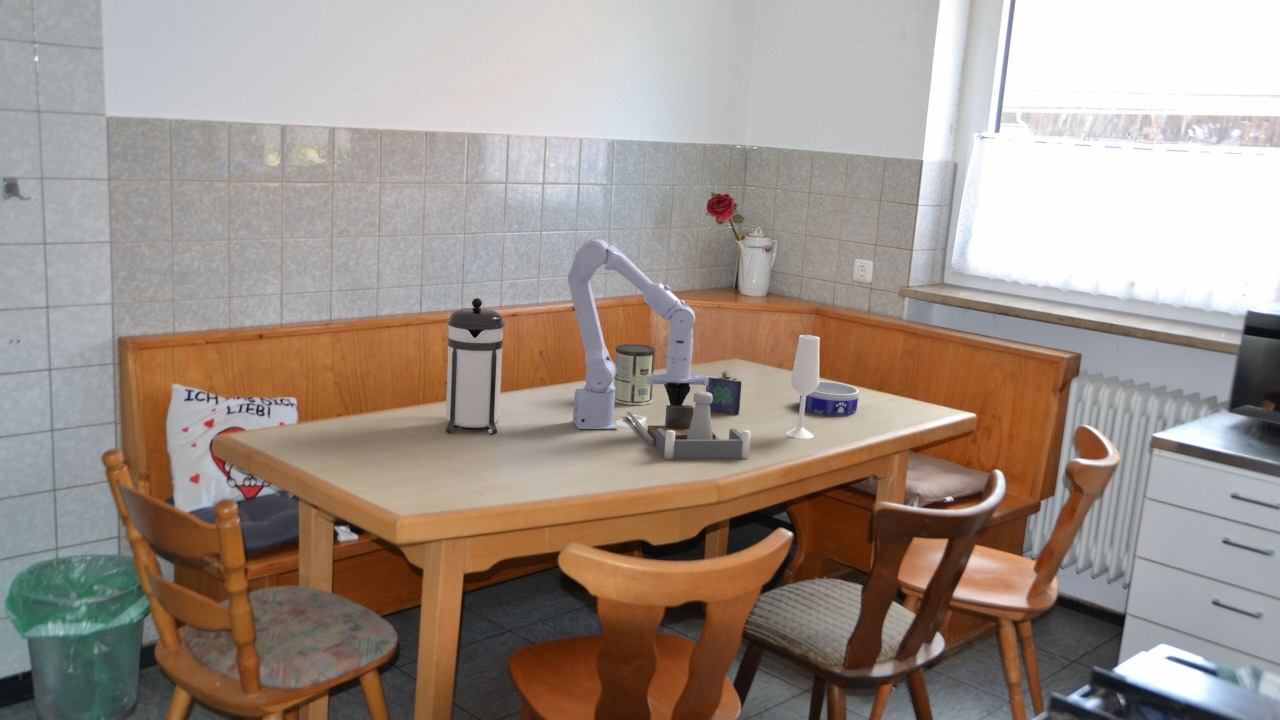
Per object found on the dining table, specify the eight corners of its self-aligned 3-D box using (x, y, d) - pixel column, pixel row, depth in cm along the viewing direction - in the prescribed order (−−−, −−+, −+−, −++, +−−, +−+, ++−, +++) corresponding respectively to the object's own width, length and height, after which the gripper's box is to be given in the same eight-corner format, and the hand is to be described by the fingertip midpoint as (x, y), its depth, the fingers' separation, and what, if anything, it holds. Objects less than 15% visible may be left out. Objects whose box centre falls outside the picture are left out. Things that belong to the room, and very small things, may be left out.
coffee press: (522, 429, 252) (528, 300, 246) (466, 440, 241) (471, 305, 235) (474, 413, 264) (479, 289, 258) (419, 422, 252) (423, 293, 246)
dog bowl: (839, 401, 302) (841, 380, 301) (867, 416, 288) (869, 394, 287) (789, 402, 297) (791, 380, 296) (815, 417, 283) (817, 394, 282)
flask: (702, 410, 281) (706, 369, 279) (705, 408, 284) (709, 367, 282) (737, 416, 279) (741, 374, 276) (740, 413, 281) (744, 372, 279)
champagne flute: (797, 429, 269) (806, 333, 264) (819, 436, 265) (829, 338, 260) (779, 433, 265) (789, 335, 260) (802, 440, 260) (812, 340, 255)
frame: (665, 459, 237) (667, 432, 236) (653, 445, 247) (655, 420, 246) (749, 458, 242) (752, 432, 241) (734, 445, 251) (737, 420, 250)
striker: (655, 443, 247) (657, 413, 246) (647, 433, 255) (649, 404, 254) (715, 443, 251) (717, 413, 249) (704, 433, 258) (707, 404, 257)
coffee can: (626, 393, 294) (630, 342, 291) (659, 401, 288) (663, 348, 285) (604, 400, 285) (608, 347, 282) (638, 407, 280) (641, 353, 277)
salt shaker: (711, 453, 244) (716, 396, 241) (686, 451, 244) (690, 394, 242) (711, 445, 250) (716, 390, 247) (686, 443, 250) (690, 388, 247)
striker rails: (650, 445, 247) (651, 440, 247) (626, 416, 270) (626, 411, 270) (720, 445, 251) (720, 440, 251) (690, 416, 274) (690, 412, 274)
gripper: (653, 361, 250) (649, 418, 252) (714, 362, 253) (709, 418, 256) (645, 354, 256) (641, 410, 259) (705, 355, 260) (700, 411, 263)
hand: (674, 414), depth 258 cm, fingers closed
